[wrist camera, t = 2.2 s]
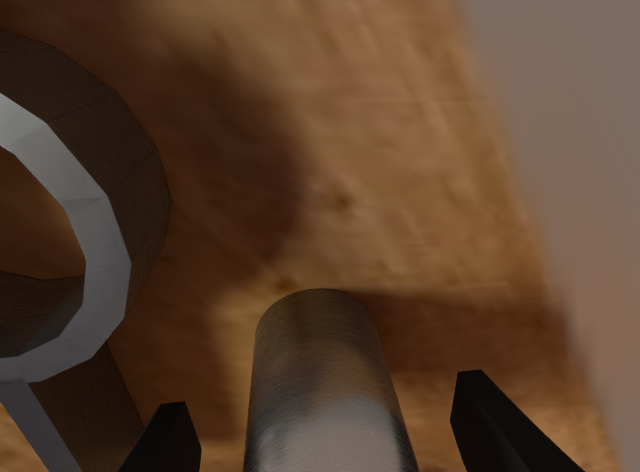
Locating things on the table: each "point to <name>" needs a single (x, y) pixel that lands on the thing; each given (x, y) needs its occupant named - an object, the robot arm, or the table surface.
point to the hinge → (97, 246)
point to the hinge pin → (323, 391)
